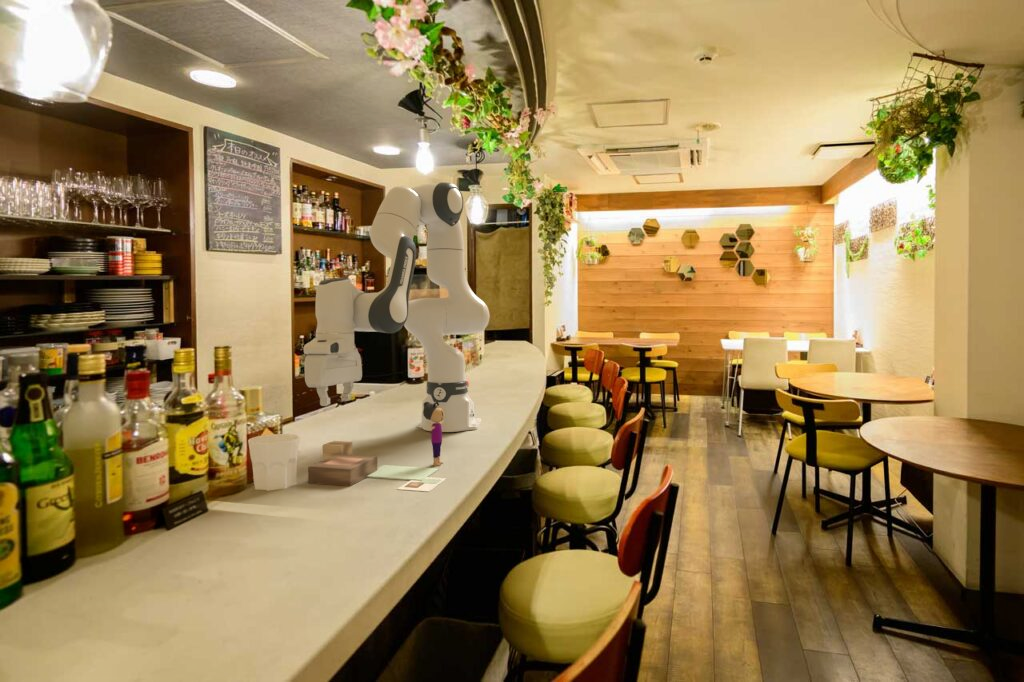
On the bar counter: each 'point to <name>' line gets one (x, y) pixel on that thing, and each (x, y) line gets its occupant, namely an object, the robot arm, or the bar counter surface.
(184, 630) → the bar counter surface
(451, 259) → the robot arm
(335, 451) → the oak cube
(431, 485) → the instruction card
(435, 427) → the toy
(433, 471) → the sage mat
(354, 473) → the base brick
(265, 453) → the cup
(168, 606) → the bar counter surface
